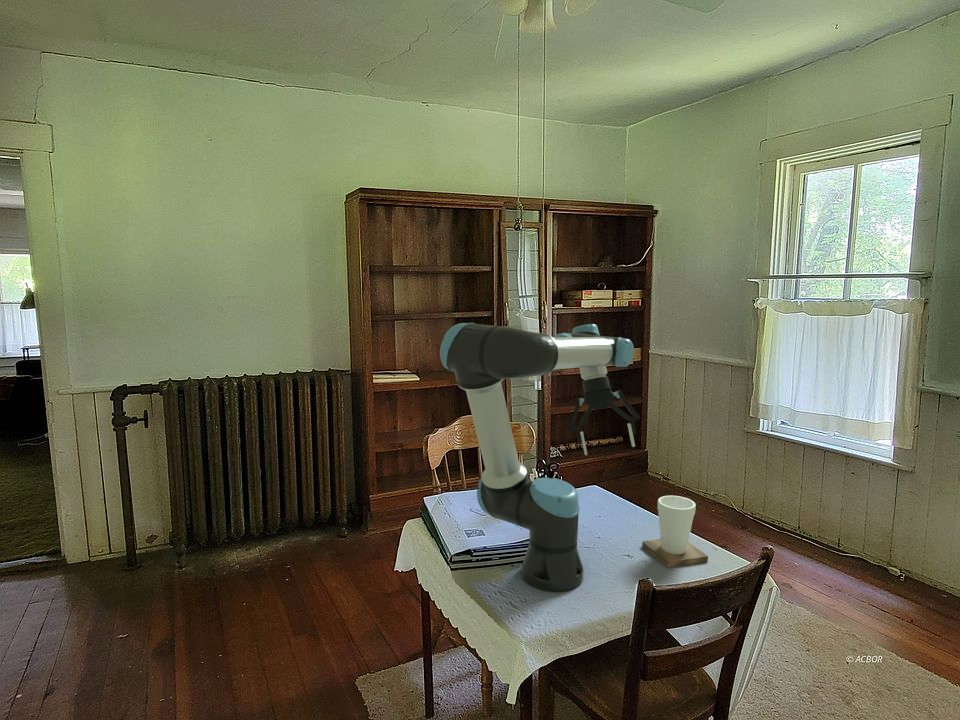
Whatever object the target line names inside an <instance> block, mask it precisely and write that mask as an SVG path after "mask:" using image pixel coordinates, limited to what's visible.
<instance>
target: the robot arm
mask: <svg viewBox="0 0 960 720" xmlns="http://www.w3.org/2000/svg"><path fill="white" fill-rule="evenodd" d="M634 351H635V347H634V344H633V342H632V340H630V339H629V338H624V337H621V336H619V337H615V336H604V335H600V331H599V328H598V325H597V324H594V323H589V324H582V325H579V326H576V327H574V328H572V332H562V333H557V334H555V335H554V336H552V335H550V334H548V333H544V332H535V331H534V332H533V331H530V330H529V331H528V330H524V329H519V328H515V327H510V326H503V325H501V326H499V325H490V324H481V323H478V324H477V323H475V322H467V323H466V322H462V323H457V324H455V325H452V326H451V327H450V328H449V329H448V330H447V332H446V333H445V335H444V336H443V340H442V341H441V343H440V348H439V357H440V362H441V364H442V366H443V367H444V368H445V369H446V370H447V371H449V372H452V373H454V375H455V380H456V382H457V387H459V388H460V389H462V390H463V391H465V393H466V396H467V401H468V404H469V408H470V409H469V410H470V412H471V416H472V421H473V424H474V428H475V433H476V437H477V441H478V445H479V449H480V453H481V456H482V460H483V466H484V470H483V472H482V475H481V477H480V478H479V482H478V484H477V486H478V489H476V497H477V498H476V499H477V503H478V506H479V507H480V509H481V510H482V511H483V512H484V513H485V514H487V515H489V516H491V517H493V518H494V519H496V520H497V519H498V520H500V521H504V522H507V523H509V524H512V525H515V526H517V527H518V526H519V527H521V528H524V529H526V530H528V531H529V541H528V542H529V544H528V546H527V549H526V552H525V554H524V558H523V560H522V564H521V578H522V579H523V581H524V582H526V583H527V584H528V585H529V586H531V587H534V588H536V589H538V590H541V591H547V592H564V591H565V592H567V591H571V590H573V589H576V588H577V587H579V586H580V585H581V584H582V583H583V581H584V567H583V563H582V560H581V555H580V553H579V552H580V551H579V550H578V535H579V514H580V503H579V502H580V501H579V498H580V497H579V494H578V492H577V491H578V490H577V489H576V488H575V487H574V486H573V485H572V484H571V483H569V482H567V481H566V480H565V481H564V480H562V479H559V478H554V477H553V478H550V477H538V478H536V479H534V480H531V479H530V478H529V473H528V471H527V467H526V465H525V464H524V463H522V462H520V461H519V456H518V452H517V447H516V442H515V439H514V434H513V430H512V427H511V426H512V425H511V421H510V417H509V411H508V407H507V403H506V398H505V394H504V390H503V385H502V382H503V381H504V380H514V379H523V378H530V377H538V376H539V377H540V376H545V375H549V374H550V373H552V372H553V371H555V370H565V369H566V370H568V369H578V368H579V372H580V377H581V379H583V381H582V387H583V391H584V397H581V398H579V397H577V398H575V399H574V400H575V404H574V405H575V407H574V410H573V414H572V418H571V421H570V426H569V428H568V431H569V432H571V433H572V432H573V433H575V435H576V438H577V443H578V444H579V445H580V444H582V449H583V452H584V453H583V454H584V456H588V452H587V446H586V445H587V444H586V441H585V437H584V436H585V435H584V431H581V430H582V428H583V427H584V425H585V424H586V421H587V419H588V418H589V417H590V414H591V412H592V411H599V410H606V409H608V408H609V407H610V408H611V409H613V410H614V411H615V412H616V413H617V414H619V415H620V416H621V417H623V418H624V419H625V420H627V422H629V423H627V424H626V425H627V428H628V429H627V430H628V433H629V435H628V436H629V440H630V443H631V447H632V448H634V447H636V443H635V439H634V435H636V434H637V428H636V422H637V421H638V420H640V419H641V416H640V414H638V412H637V411H636V410H635V409H634V407H633V406H632V405H631V404H630V402H629V400H627V399H626V397H625V395H624V392H623V390H622V389H619V390H617V391H614V392H613V391H612V389H611V384H610V380H609V377H608V376H607V374H608V369H607V366H611V367H616V368H617V367H620V368H621V367H623V368H626V367H628V366H629V365H631V363H632V361H633V358H634ZM614 397H616V398H617V399H620V401H621V402H622V403H623V405H624V406H625V407H626V408H627V410H628V411H629V413H630V414H631V415H632V416H633V417H631V416H630V415H629V414H627V413H626V412H624V410H623V409H621V408H620V407H618V406H617V405H616V404H615V403H613V399H614ZM583 403H585V404H586V405H588V407H587V409H586V411H585V413H584V414H583V416H582V418H581V420H580V421H579V422H578V423H579V424H578V425H577V427H575V425H576V422H577V418H578V414H579V410H580V406H582V405H583Z"/></svg>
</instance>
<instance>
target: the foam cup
mask: <svg viewBox="0 0 960 720" xmlns="http://www.w3.org/2000/svg"><path fill="white" fill-rule="evenodd" d="M696 505H697V503H696V502H695V501H693V500H692V499H690V498H688V497H684V496H680V495H663V496H661V497H659V498H658V500H657V510H658V523H659V532H660V533H659V535H660V536H659V537H660V538H659V539H661V548H662V549H663V550H664V551H666V552H668V553H671V554H683V553H685V552H686V549H687V545H688V542H689V539H690V535H691V532H692V531H691V530H692V525H693V520H694V517H695V513H696Z"/></svg>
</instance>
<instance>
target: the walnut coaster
mask: <svg viewBox="0 0 960 720" xmlns="http://www.w3.org/2000/svg"><path fill="white" fill-rule="evenodd" d="M641 543H642V545H641V546H642V548H643V549H644V550H646V551H647V552H648V553H649V554H650V555H652V556H653V557H654V558H655V559H657V560H658V561H659V562H660V563H661V564H662V565H664V566H665V567H666V568H668V569H669V568H675V567H679V566H680V567H681V566H687V565H693V564H700V563H701V564H702V563H707V562H709V555H707V554H705V552H704V551H701V550H700V548H697V547H696V546H695V545H693V544H692V543H690V542H689V541H688V545H687V549H686V552H685V553H683V554H671V553H668V552H666V551H664V550H663V549H662V548H661V538H659V539H651V540H644V541H642V542H641Z"/></svg>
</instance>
